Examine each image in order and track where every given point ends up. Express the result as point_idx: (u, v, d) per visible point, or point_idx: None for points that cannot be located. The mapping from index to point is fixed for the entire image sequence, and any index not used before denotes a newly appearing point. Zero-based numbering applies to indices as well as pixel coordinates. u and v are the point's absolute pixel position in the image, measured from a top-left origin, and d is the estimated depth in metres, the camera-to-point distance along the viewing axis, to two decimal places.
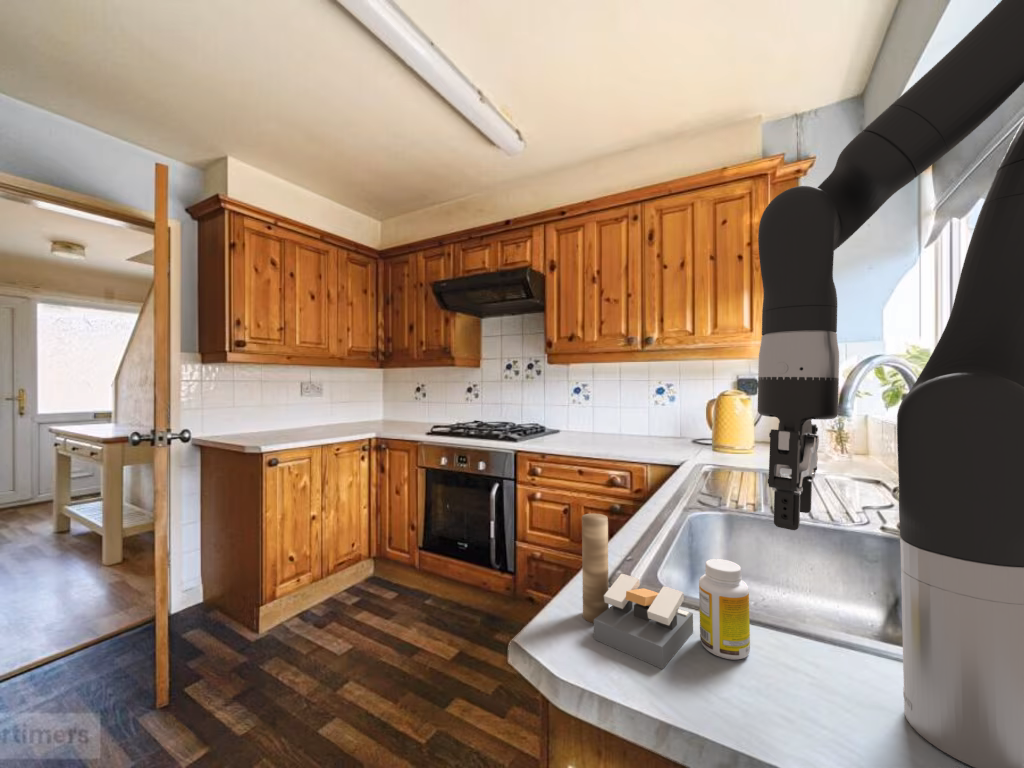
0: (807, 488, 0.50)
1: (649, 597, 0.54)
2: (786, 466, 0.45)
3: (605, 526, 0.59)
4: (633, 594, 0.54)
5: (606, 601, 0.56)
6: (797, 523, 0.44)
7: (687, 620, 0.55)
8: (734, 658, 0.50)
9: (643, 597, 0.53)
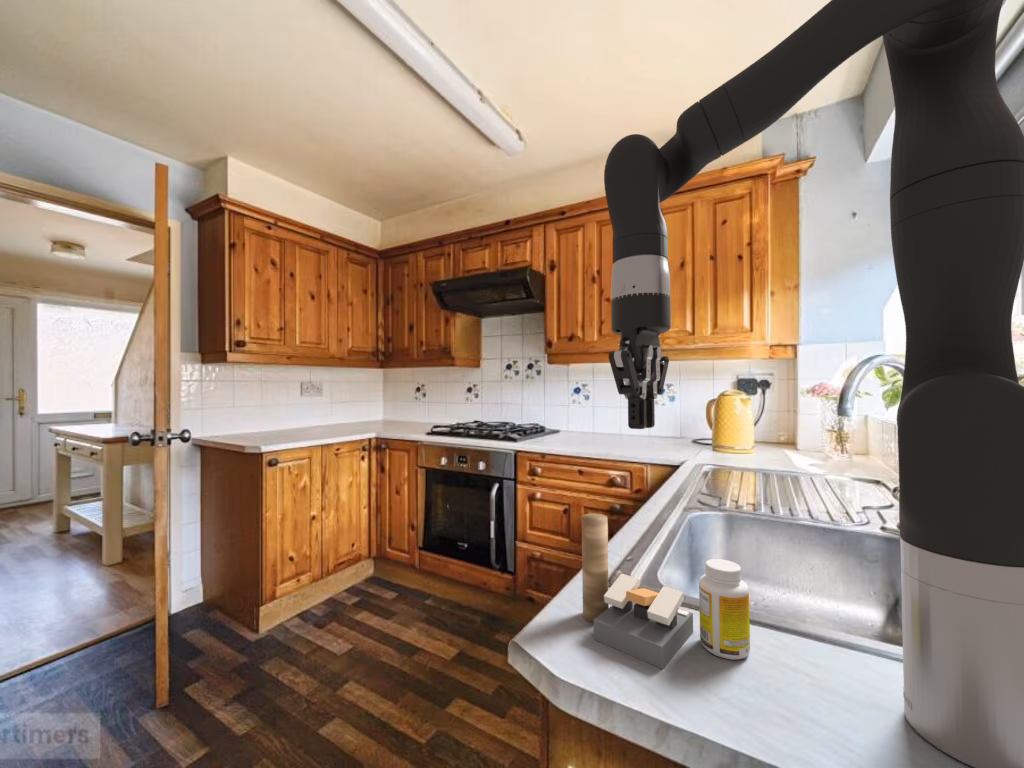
0: (649, 405, 0.56)
1: (649, 597, 0.54)
2: None
3: (605, 525, 0.59)
4: (633, 594, 0.54)
5: (606, 601, 0.56)
6: (643, 423, 0.54)
7: (687, 620, 0.55)
8: (734, 658, 0.50)
9: (643, 597, 0.53)
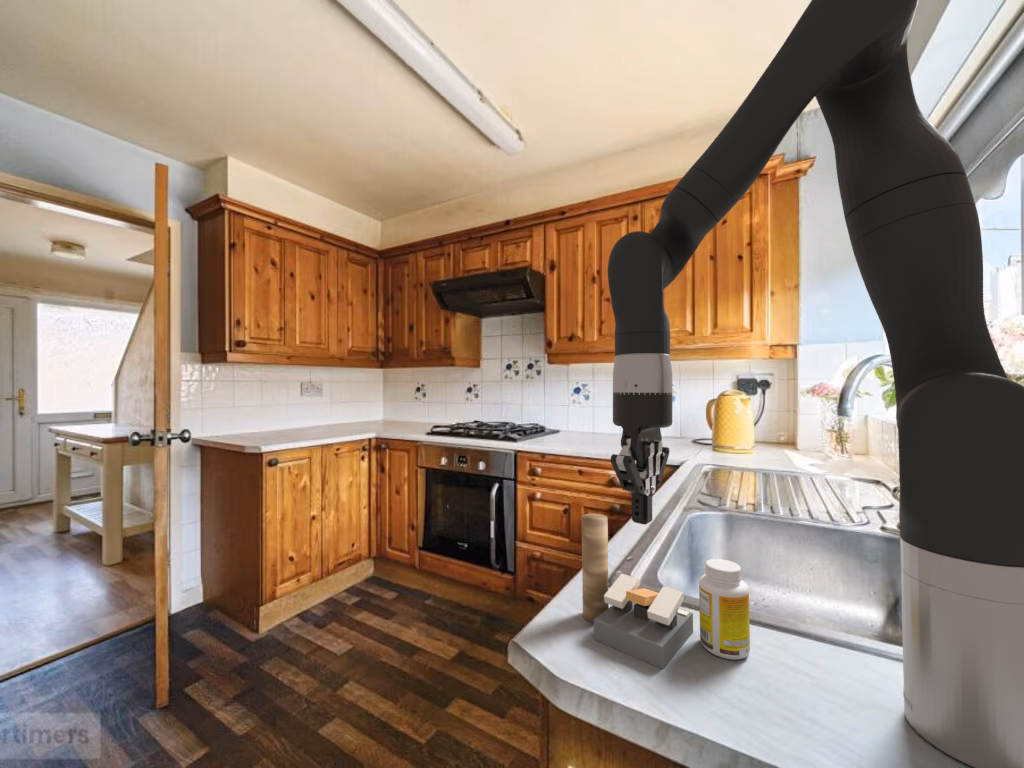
0: None
1: (649, 597, 0.54)
2: None
3: (605, 526, 0.59)
4: (633, 594, 0.54)
5: (606, 601, 0.56)
6: (646, 519, 0.55)
7: (687, 620, 0.55)
8: (734, 658, 0.50)
9: (643, 597, 0.53)
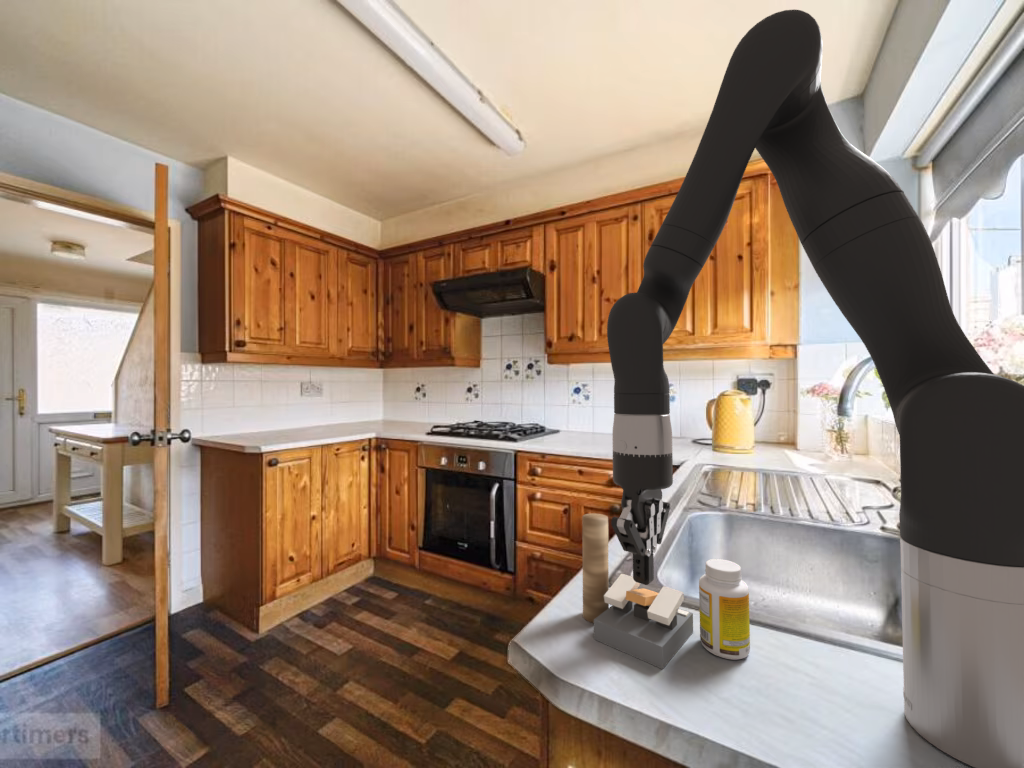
0: None
1: (649, 597, 0.54)
2: None
3: (606, 526, 0.59)
4: (633, 594, 0.54)
5: (606, 601, 0.56)
6: (648, 579, 0.54)
7: (687, 620, 0.55)
8: (734, 658, 0.50)
9: (643, 597, 0.53)
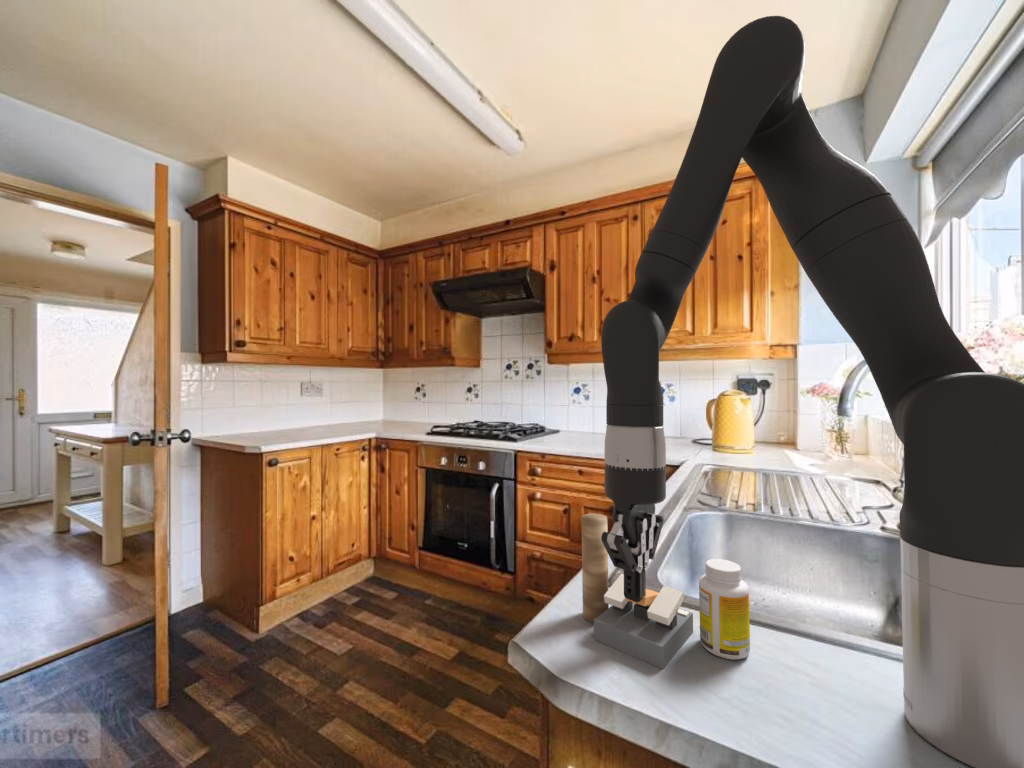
0: None
1: (649, 597, 0.54)
2: None
3: (605, 526, 0.59)
4: None
5: (606, 601, 0.56)
6: (639, 596, 0.53)
7: (687, 620, 0.55)
8: (734, 658, 0.50)
9: (643, 597, 0.53)
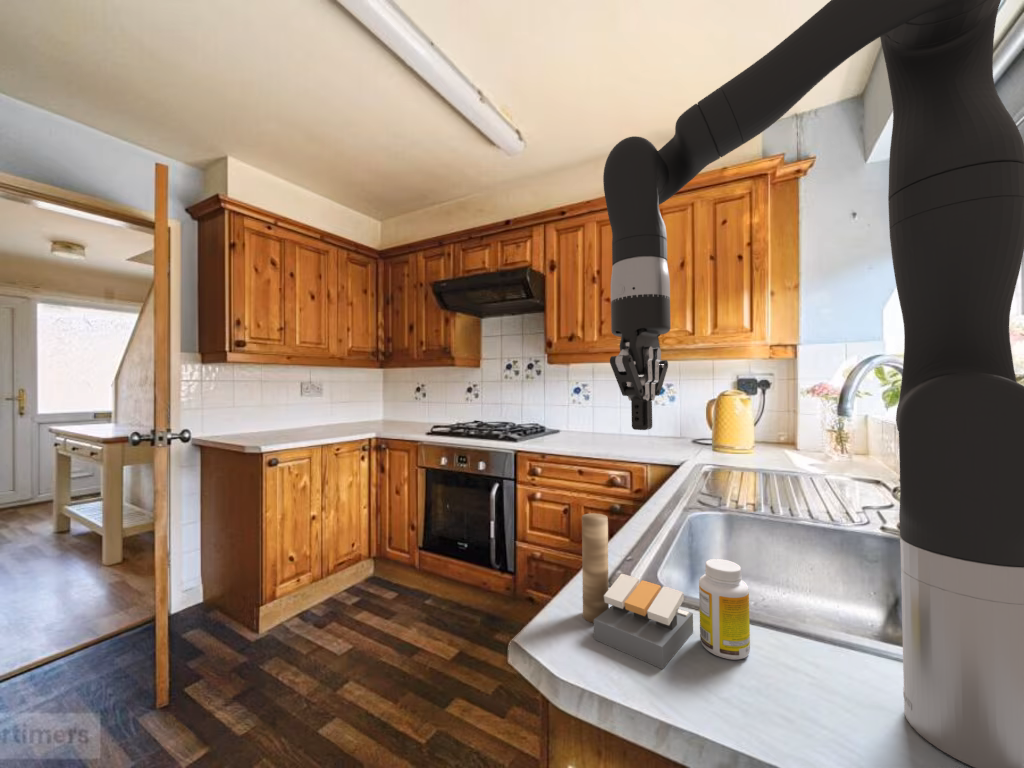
0: None
1: (648, 604, 0.54)
2: None
3: (605, 525, 0.59)
4: (632, 605, 0.54)
5: (606, 601, 0.56)
6: (646, 424, 0.55)
7: (687, 620, 0.55)
8: (734, 658, 0.50)
9: (642, 608, 0.53)
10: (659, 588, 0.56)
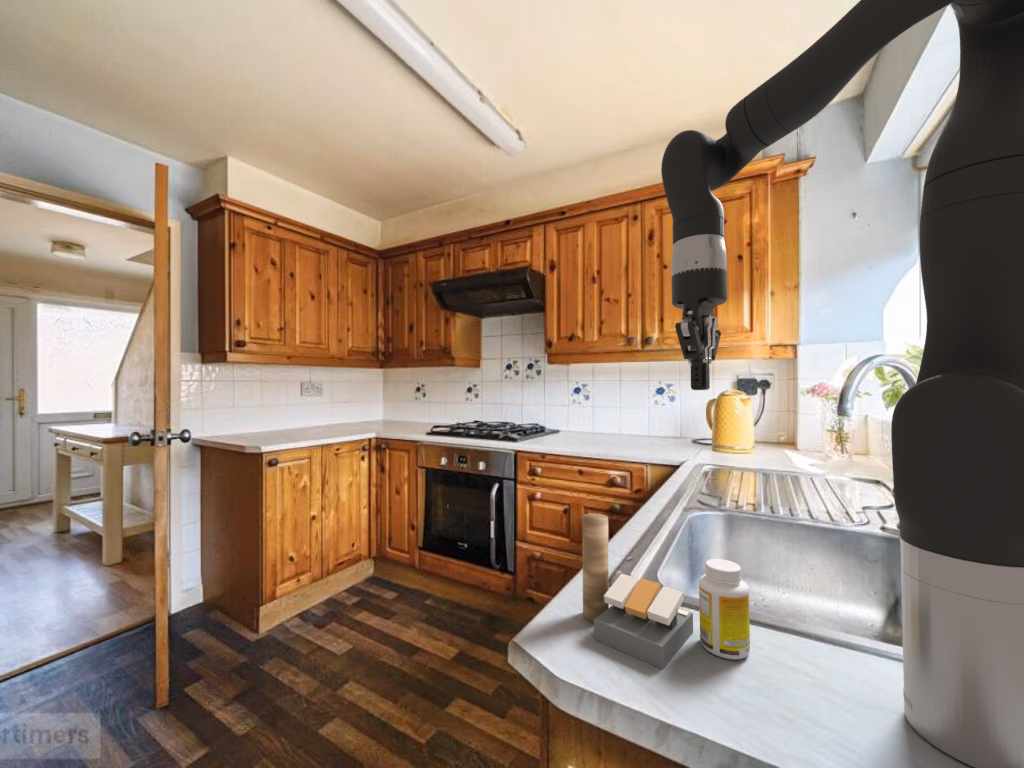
0: None
1: (647, 606, 0.54)
2: (694, 345, 0.62)
3: (606, 526, 0.59)
4: (632, 609, 0.54)
5: (606, 601, 0.56)
6: (705, 384, 0.62)
7: (687, 620, 0.55)
8: (734, 658, 0.50)
9: (642, 612, 0.53)
10: (658, 586, 0.56)
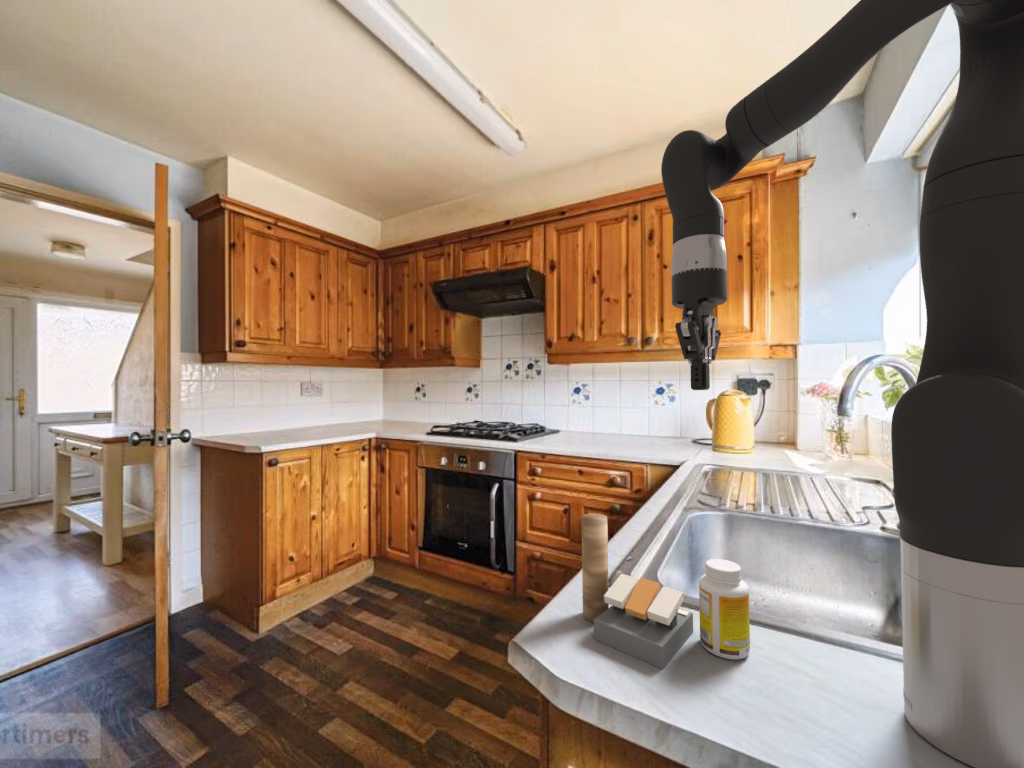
0: None
1: (647, 607, 0.54)
2: (694, 345, 0.62)
3: (605, 525, 0.59)
4: (632, 610, 0.54)
5: (606, 601, 0.56)
6: (705, 384, 0.62)
7: (687, 620, 0.55)
8: (734, 658, 0.50)
9: (642, 613, 0.53)
10: (658, 586, 0.56)
